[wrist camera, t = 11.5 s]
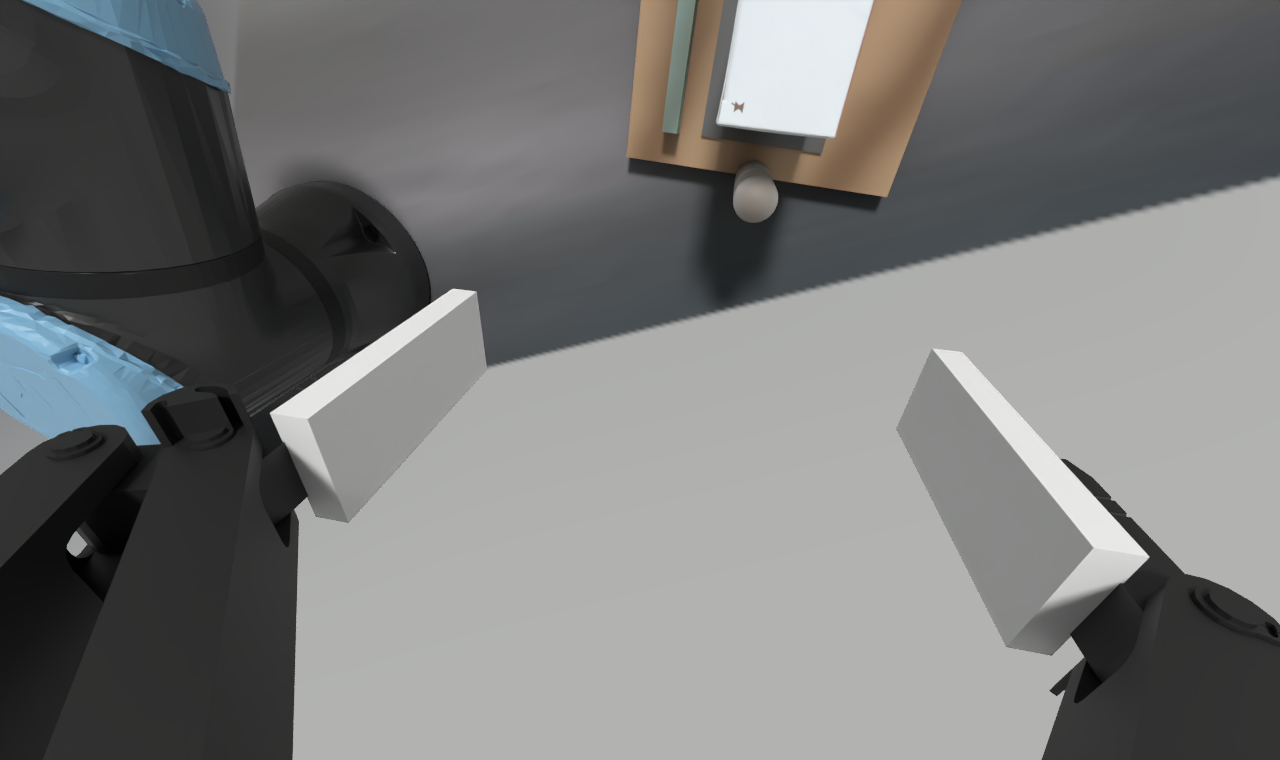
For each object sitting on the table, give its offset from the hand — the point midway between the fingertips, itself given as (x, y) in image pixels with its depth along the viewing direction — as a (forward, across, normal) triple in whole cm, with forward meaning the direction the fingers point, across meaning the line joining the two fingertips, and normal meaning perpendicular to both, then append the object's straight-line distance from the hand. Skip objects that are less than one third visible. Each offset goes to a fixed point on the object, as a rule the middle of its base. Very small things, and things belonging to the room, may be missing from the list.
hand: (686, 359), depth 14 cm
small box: (+23, +3, +9) cm, 25 cm away
